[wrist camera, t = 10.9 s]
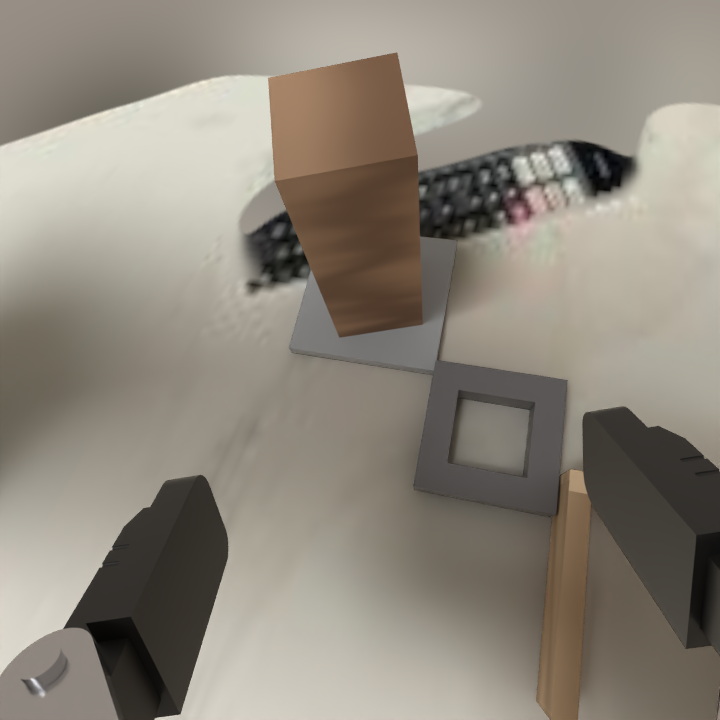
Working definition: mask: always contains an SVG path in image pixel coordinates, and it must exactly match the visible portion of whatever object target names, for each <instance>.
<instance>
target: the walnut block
mask: <svg viewBox="0 0 720 720" xmlns="http://www.w3.org/2000/svg"><path fill="white" fill-rule="evenodd" d="M268 82H269V97H270V113H271V129H272V145H273V160H274V176H275V183H276V185H277V188H278V190H279V192H280V195H281V197H282V200H283V202H284V205H285V207H286V209H287V212H288V214H289V217H290V219H291V222H292V224H293V226H294V229H295V231H296V234H297V236H298V239H299V241H300V243H301V246H302V248H303V251H304V253H305V256H306V258H307V260H308V263H309V265H310V268H311V270H312V273H313V275H314V277H315V280H316V282H317V285H318V287H319V290H320V292H321V294H322V297H323V299H324V302H325V304H326V307H327V309H328V311H329V314H330V316H331V319H332V321H333V324H334V326H335V328H336V331H337V333H338V336H339V338H341V337H348V336H354V335H361V334H367V333H373V332H380V331H386V330H392V329H399V328H405V327H412V326H418V325H423V317H422V284H421V251H420V219H419V186H418V155H417V150H416V146H415V141H414V135H413V130H412V125H411V120H410V115H409V110H408V104H407V99H406V94H405V89H404V84H403V80H402V74H401V69H400V64H399V59H398V55H397V53H393V54H387V55H382V56H377V57H372V58H367V59H362V60H357V61H352V62H347V63H342V64H337V65H332V66H327V67H322V68H317V69H312V70H307V71H302V72H296V73H291V74H286V75H281V76H276V77H271V78H268Z"/></svg>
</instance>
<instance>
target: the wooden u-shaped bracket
mask: <svg viewBox="0 0 720 720" xmlns="http://www.w3.org/2000/svg"><path fill="white" fill-rule="evenodd" d="M591 505H592V504H591V502H590V499H589V497H588V494H587V491H586V487H585V483H584V475H583V471H578V470H572V469H570V470H568V471H567V472H565V473H563V474H562V475H560V476H559V486H558V498H557V510H556V515H554V516H552V523H551V535H550V547H549V558H548V570H547V582H546V594H545V605H544V617H543V629H542V640H541V652H540V664H539V676H538V687H537V699H536V701H537V703H538V704H539V705H540V707H541V708H542V709H543V711H544V712H545V713H546V715H547V716H548V717H549V719H550V720H578V709H579V692H580V676H581V660H582V644H583V627H584V611H585V595H586V579H587V562H588V546H589V530H590V513H591Z"/></svg>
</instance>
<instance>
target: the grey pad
mask: <svg viewBox="0 0 720 720" xmlns="http://www.w3.org/2000/svg"><path fill="white" fill-rule="evenodd" d="M456 248H457V240H448V239H439V238H430V237H420V251H421V284H422V317H423V325H418V326H412V327H405V328H399V329H392V330H386V331H380V332H373V333H367V334H361V335H354V336H348V337H341V338H339V336H338V333H337V331H336V328H335V326H334V324H333V321H332V319H331V316H330V314H329V311H328V309H327V307H326V304H325V302H324V299H323V297H322V294H321V292H320V290H319V287H318V285H317V282H316V280H315V277H314V275H313V273H312V270H311V271H310V274H309V278H308V282H307V285H306V289H305V292H304V296H303V300H302V303H301V307H300V310H299V314H298V317H297V321H296V325H295V328H294V332H293V335H292V339H291V343H290V346H289V349H290V350H291V352H292V353H298V354H305V355H311V356H317V357H323V358H330V359H336V360H342V361H349V362H355V363H361V364H367V365H374V366H380V367H386V368H393V369H399V370H405V371H412V372H418V373H424V374H430V375H433V372H434V366H435V360H437V357H438V351H439V345H440V339H441V334H442V328H443V322H444V316H445V311H446V305H447V299H448V294H449V288H450V282H451V276H452V271H453V265H454V259H455V253H456Z"/></svg>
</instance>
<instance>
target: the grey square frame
mask: <svg viewBox="0 0 720 720" xmlns="http://www.w3.org/2000/svg"><path fill="white" fill-rule="evenodd" d="M566 390H567V380H563V379H557V378H550V377H544V376H537V375H531V374H524V373H517V372H511V371H504V370H498V369H491V368H485V367H478V366H472V365H465V364H459V363H452V362H446V361H439V360H435V366H434V372H433V378H432V383H431V389H430V395H429V400H428V406H427V412H426V418H425V423H424V429H423V435H422V440H421V446H420V452H419V458H418V463H417V469H416V475H415V480H414V490H419V491H424V492H429V493H434V494H439V495H443V496H448V497H453V498H458V499H463V500H468V501H473V502H478V503H483V504H488V505H493V506H498V507H502V508H507V509H512V510H517V511H522V512H527V513H532V514H537V515H542V516H547V517H551V516H554V515H556V510H557V498H558V486H559V474H560V462H561V450H562V438H563V426H564V414H565V402H566ZM457 398H462V399H468V400H474V401H480V402H486V403H492V404H498V405H504V406H510V407H516V408H522V409H528V410H530V415H529V425H528V434H527V444H526V453H525V462H524V472H523V477H520V476H515V475H509V474H504V473H499V472H494V471H488V470H483V469H478V468H473V467H467V466H462V465H457V464H452V463H447V462H448V456H449V449H450V443H451V436H452V430H453V424H454V417H455V411H456V404H457Z"/></svg>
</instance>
